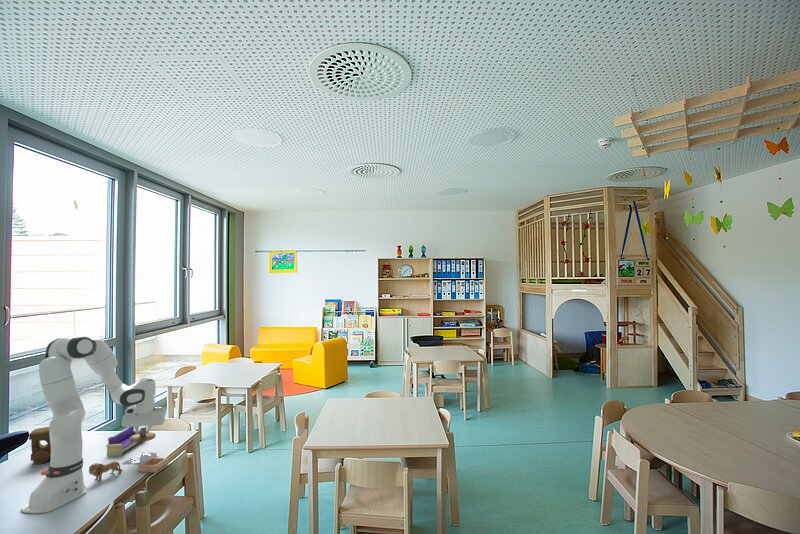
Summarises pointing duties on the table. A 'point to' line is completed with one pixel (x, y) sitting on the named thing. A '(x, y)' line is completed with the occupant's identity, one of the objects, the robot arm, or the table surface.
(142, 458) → the mat
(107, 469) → the lion figurine
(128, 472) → the table surface
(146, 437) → the lid
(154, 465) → the open box
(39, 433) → the wooden toy train
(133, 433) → the toy sofa
